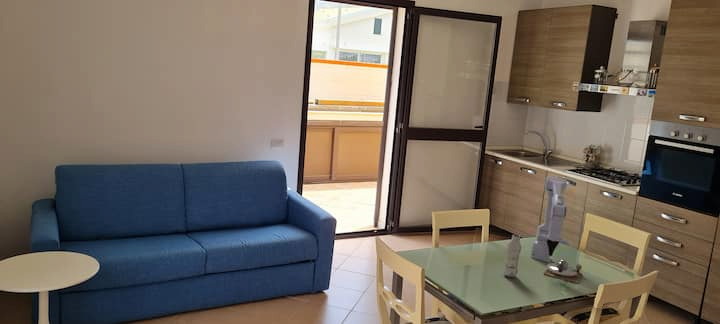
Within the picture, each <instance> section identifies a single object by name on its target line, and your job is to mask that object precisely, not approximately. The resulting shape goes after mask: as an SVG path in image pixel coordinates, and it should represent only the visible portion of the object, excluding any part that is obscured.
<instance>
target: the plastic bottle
mask: <svg viewBox="0 0 720 324" xmlns="http://www.w3.org/2000/svg"><path fill="white" fill-rule="evenodd" d="M520 241H521V236H520V235H518V234H512V236H511V240H510V242H508V244H507V247H506V248H507V251H506V253H507V254H506V260H505V264H504V267H503V272H502V273H503V275H504V276H505V277H508V278H515V277H516V276H517V275H518V263H519V258H520V254H521V251H522V245H521V242H520Z"/></svg>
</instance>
